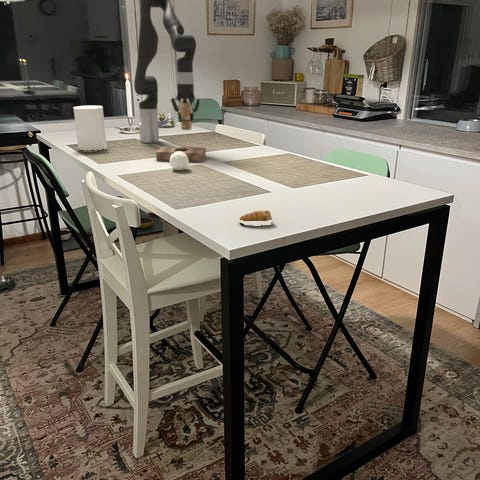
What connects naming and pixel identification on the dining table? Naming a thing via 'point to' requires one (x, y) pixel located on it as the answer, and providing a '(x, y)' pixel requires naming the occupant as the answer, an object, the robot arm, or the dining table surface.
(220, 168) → the dining table surface
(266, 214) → the pastry
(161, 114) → the passion flower
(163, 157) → the board
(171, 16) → the robot arm
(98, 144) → the canister
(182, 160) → the ball
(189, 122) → the peg
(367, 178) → the dining table surface
